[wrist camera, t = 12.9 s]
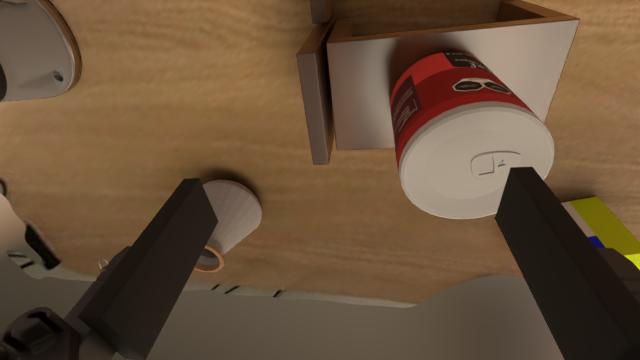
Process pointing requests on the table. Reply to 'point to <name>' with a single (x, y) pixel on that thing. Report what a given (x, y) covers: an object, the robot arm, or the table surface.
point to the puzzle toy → (603, 227)
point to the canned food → (462, 136)
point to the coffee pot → (226, 221)
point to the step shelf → (405, 50)
